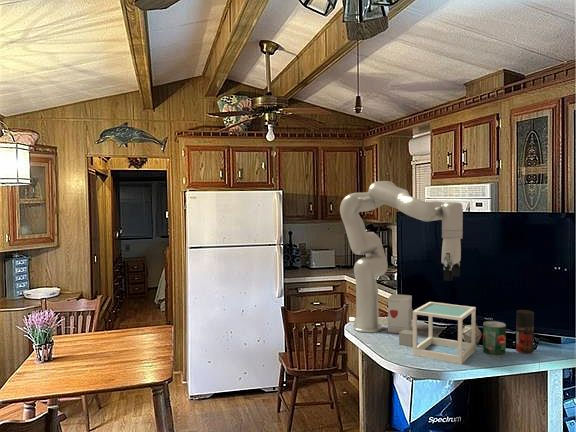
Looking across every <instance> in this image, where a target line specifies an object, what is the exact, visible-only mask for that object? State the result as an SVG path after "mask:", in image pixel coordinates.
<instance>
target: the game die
mask: <svg viewBox="0 0 576 432" xmlns="http://www.w3.org/2000/svg"><path fill="white" fill-rule="evenodd" d="M482 337H483V332H481V330H480V329H479V327H478V323H476V344H477V345H478V346H480V343H479V342H480V340H481V338H482ZM462 340H464V341H463V342H467V343H471V324H465V323H463V327H462Z"/></svg>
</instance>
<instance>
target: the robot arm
mask: <svg viewBox="0 0 576 432" xmlns="http://www.w3.org/2000/svg"><path fill="white" fill-rule="evenodd" d="M383 205H386V206H387V207H388V206H389V207H391V208H395V209H397V210H399V211H400V212H401V213H403V214H405V215H406V216H408V217H411V218H414V219H416V220H420V221H422V222H433V221H441V238H442V246H441V261H440V262H441V264H442V265H443V280H444V281H446V282H447V281H448V282H449V281H450V282H452V281H453V277H460V276H461V263H460V262H461V258H462V256H461V255H462V253H461V252H462V248H461V247H462V245H461V243H462V241H461V239H463V231H464V230H463V224H464V223H463V219H464V218H463V217H464V216H463V213H464V211H463V209H464V208H463V204H462V203H461V202H456V201H453V202H452V201H451V202H449V201H448V202H444V201H438V200H437V201H435V200H434V201H424V200H422V199H418V198H416V197H413V196H411V195H410V193H409V191H408V190H407V189H404V188H401V187H398V186H397V185H396V184H395V183H394V182H393V181H389V180H378V181H375V182H374V181H373V182H372V183H371V184H370V185H369V187H368V191H366V192H353V193H349V194H347V195H346V196H345V197H344V198H343V199H342V200H341V202H340V206H339V213H340V217H341V221H342V222H343V226H344V228H345V232H346V236H347V240H348V243H349V247H350V249H351V251H352V253H353V254H354V255H358V256H362V255H365V257H361V258H359V259H358V260H357V261H356V262H355V263H354V266H353V273H354V279H355V294H356V295H355V296H356V297H355V299H356V300H355V301H356V303H355V306H356V308H355V310H356V317H355V316H349V318H348V322H349V323H353V325H352V328H353V330H354V331H356V332H360V333H377V332H381V331H382V330H383V326H382V324H379V287H378V283H377V282H378V281H377V279H376V278H377V277H378V278H379V277H381V276H383V275H385V273H386V272H387V271H388V260H387V256H386V253H385V250H384V246H383V244H382V240H381V238H380V237H379V235H378V234H377V233H375V232H374V231H373V232H372V231H367V230H366V225H365V222H364V221H363V218H362V217H361V216H360V214H359V213H363V212H370V211H373V210H376V209H377V208H380V207H381V206H383Z"/></svg>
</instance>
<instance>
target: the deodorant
mask: <svg viewBox="0 0 576 432" xmlns="http://www.w3.org/2000/svg"><path fill="white" fill-rule="evenodd" d="M515 313H516V314H515V315H516V317H515V318H516V319H515V321H516V323H515V324H516V325H515V326H516V327H515V336H516V337H515V339H516V341H515V351H516V352H517V353H519V354H525V355H531V354H534V341H535V340H534V339H535V338H534V337H535V331H534V330H535V312H534V311H532V310H529V309H518V310H516V312H515Z"/></svg>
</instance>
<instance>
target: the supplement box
mask: <svg viewBox="0 0 576 432" xmlns="http://www.w3.org/2000/svg"><path fill="white" fill-rule="evenodd" d="M412 297H413V296H412V295H409V294H398V293H397V294H395V293H394V294H393V293H391V294H390V295H389V297H388V299H387V332H388V333H393V334H394V333H395V334H399V332H401V331H403V330H410V331H412V330H413V310H412V309H413V308H412V302H413V298H412Z"/></svg>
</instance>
